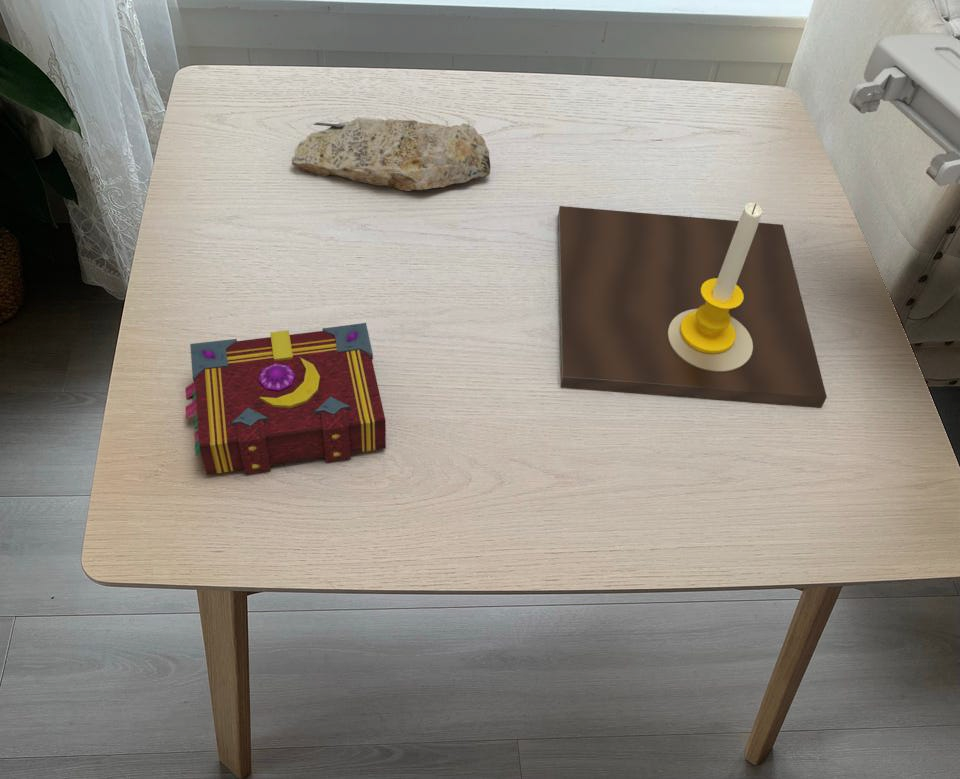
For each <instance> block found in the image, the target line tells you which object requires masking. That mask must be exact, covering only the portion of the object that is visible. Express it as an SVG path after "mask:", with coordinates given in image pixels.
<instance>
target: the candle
mask: <svg viewBox="0 0 960 779" xmlns="http://www.w3.org/2000/svg"><path fill="white" fill-rule="evenodd" d="M762 214H763V210H762V207H761V206H760V205H759V204H758V203H755V202H748V203H747V204H745V206H744V208H743V211H742V214H740V218H739V220H738V221H739V222H738V225H737V228H736V230H735V233H734V236H733V239H732V241H731V244H730V247H729V249H728V252H727V255H726V257H725V260H724V263H723V265H722V268H721V271H720V273H719V276H718V278H713V279H709V280H707V281H705V282H704V283H703V284H702V287H701V294H702V297H703V298H704V299H705V300H706V302H705V305H702V306H700V307H699V308H698V310H697V311H696V312H692V313H690V314H688V315H686V316H685V317H684V318H683V320H682V322H681V325H680V333H681V336H682V338H683V339H684V341H685V342H686V343H687V344H688V345H689V346H690V347H692V348H694V349H695V350H697V351H700V352H703V353H709V354H718V353H722V352H725V351H727V350H729V349H730V348H731V347H732V346H733V344H734V341H735V338H736V332H735V329H734V327H733V325H732V324H731V323H730V321H731V317H730V314H729V313H728V312H729V310H730V309H732V308H736V307H738V306H739V305H740V304H741V303H742V302H743V299H744V295H743V292H742V290H741V289H740V288H739V286H737V285H736V283H737V280H738V278H739V275H740V272H741V270H742V267H743V264H744V262H745V259H746V256H747V254H748V251H749V248H750V246H751V243H752V240H753V238H754V235H755V232H756V230H757V227H758V224H759V223H760V220H761V217H762Z"/></svg>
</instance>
